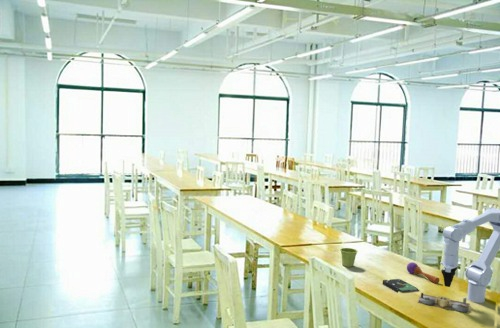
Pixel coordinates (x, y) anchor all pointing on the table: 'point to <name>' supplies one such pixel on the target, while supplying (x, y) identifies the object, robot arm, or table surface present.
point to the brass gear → (443, 302)
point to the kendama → (420, 272)
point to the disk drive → (399, 285)
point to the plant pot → (348, 256)
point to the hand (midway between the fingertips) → (448, 284)
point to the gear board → (454, 306)
